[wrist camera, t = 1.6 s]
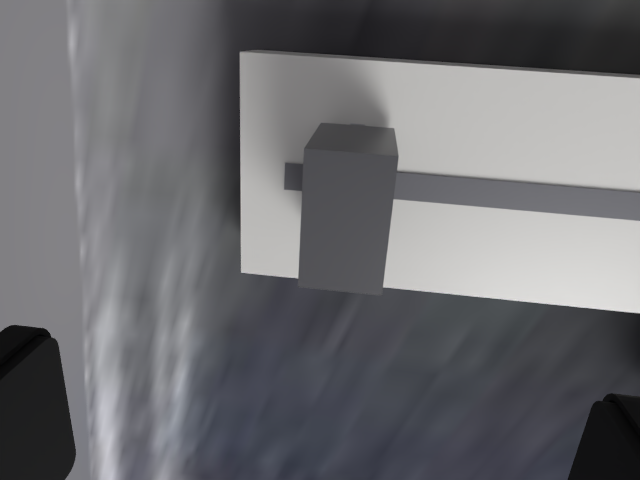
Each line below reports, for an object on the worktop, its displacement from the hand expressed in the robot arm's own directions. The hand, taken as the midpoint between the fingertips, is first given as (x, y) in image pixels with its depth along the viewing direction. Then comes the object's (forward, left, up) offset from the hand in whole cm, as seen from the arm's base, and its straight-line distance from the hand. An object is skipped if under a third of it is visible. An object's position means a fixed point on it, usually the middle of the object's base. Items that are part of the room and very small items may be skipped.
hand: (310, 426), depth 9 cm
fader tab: (0, 0, -14) cm, 14 cm away
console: (0, +8, -17) cm, 19 cm away
